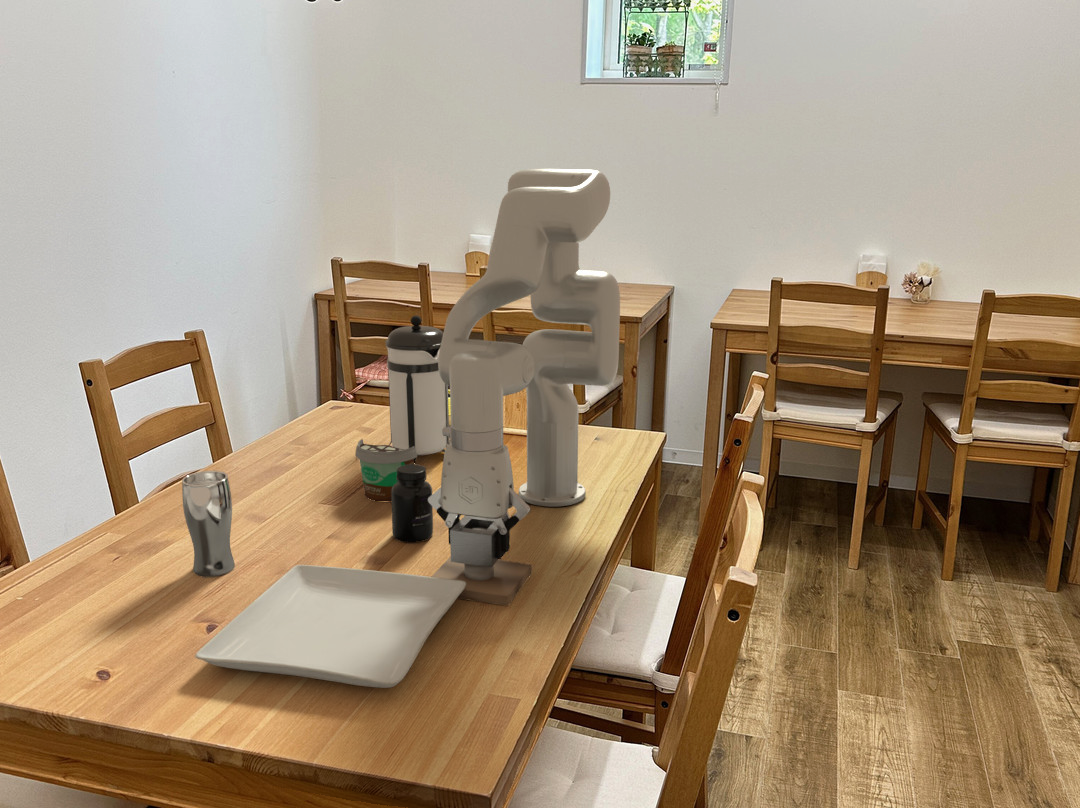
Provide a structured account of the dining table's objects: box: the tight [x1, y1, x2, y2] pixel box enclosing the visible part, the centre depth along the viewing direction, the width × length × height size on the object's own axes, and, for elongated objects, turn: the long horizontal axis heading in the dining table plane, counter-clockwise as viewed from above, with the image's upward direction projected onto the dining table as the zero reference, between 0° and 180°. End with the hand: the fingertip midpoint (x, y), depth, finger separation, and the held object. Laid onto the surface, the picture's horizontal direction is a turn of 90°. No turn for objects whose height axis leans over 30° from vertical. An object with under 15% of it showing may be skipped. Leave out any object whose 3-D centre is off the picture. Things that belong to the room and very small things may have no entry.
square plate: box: [194, 564, 466, 689], centre depth 122 cm, size 27×27×4 cm
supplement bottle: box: [391, 463, 434, 544], centre depth 153 cm, size 7×7×12 cm
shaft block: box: [430, 527, 533, 607], centre depth 136 cm, size 11×13×8 cm
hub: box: [449, 515, 499, 568], centre depth 136 cm, size 6×6×5 cm
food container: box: [354, 438, 418, 502], centre depth 170 cm, size 12×6×10 cm, turn 68°
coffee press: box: [385, 315, 450, 464], centre depth 192 cm, size 17×16×30 cm
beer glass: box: [181, 470, 236, 578], centre depth 140 cm, size 7×7×15 cm
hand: (479, 551), depth 136 cm, fingers closed on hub, 6 cm apart
